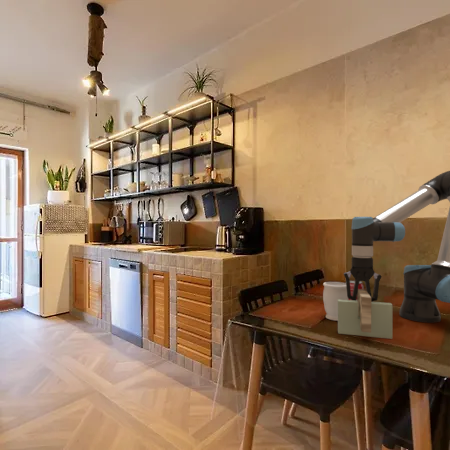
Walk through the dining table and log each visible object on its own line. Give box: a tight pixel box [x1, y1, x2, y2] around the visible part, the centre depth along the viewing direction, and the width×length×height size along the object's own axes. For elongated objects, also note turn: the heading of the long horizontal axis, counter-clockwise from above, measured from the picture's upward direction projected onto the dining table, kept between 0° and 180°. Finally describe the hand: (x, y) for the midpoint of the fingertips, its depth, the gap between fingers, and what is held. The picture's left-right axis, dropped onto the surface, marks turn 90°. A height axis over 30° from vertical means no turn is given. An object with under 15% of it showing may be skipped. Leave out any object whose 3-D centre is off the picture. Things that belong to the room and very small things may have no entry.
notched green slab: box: [337, 299, 393, 340], centre depth 111 cm, size 18×3×12 cm, turn 72°
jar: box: [322, 281, 349, 322], centre depth 131 cm, size 11×10×15 cm
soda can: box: [349, 280, 365, 300], centre depth 146 cm, size 7×7×13 cm
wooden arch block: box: [357, 289, 371, 333], centre depth 111 cm, size 14×3×12 cm, turn 162°
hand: (361, 317), depth 116 cm, fingers closed on wooden arch block, 3 cm apart
